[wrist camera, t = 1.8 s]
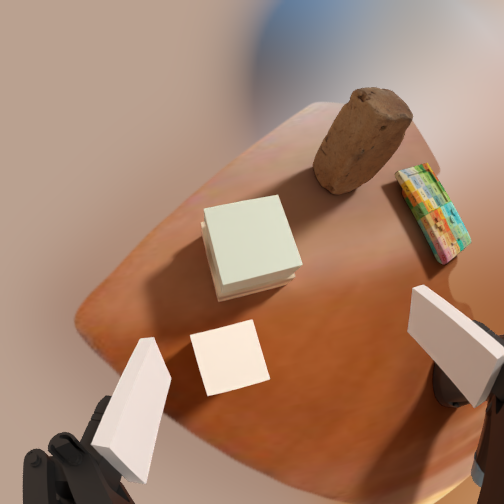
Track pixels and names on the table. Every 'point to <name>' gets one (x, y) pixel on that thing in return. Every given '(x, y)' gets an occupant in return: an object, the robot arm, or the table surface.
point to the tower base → (244, 290)
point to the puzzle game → (433, 212)
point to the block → (361, 139)
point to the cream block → (229, 357)
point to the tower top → (250, 242)
